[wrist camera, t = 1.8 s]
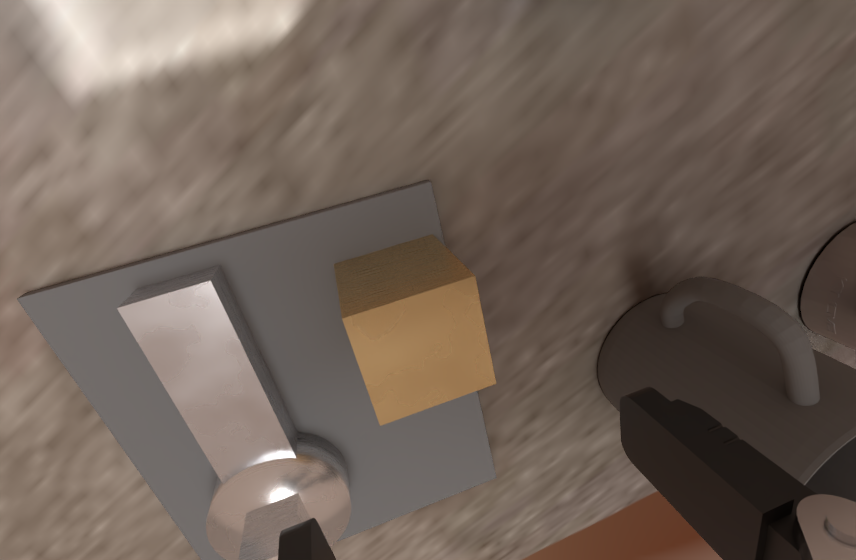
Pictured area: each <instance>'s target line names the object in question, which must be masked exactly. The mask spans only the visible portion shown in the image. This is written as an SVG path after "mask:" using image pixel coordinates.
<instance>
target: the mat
mask: <svg viewBox="0 0 856 560" xmlns="http://www.w3.org/2000/svg"><path fill="white" fill-rule="evenodd" d="M431 234H433V235H434V236H435V237H436V238H437V239H438V240H439V241H440V242H441V243H442V244H443V245H444V246H445V243H444V238H443V234H442V229H441V225H440V220H439V215H438V211H437V206H436V202H435V197H434V193H433V188H432V184H431V181H429V180H426V181H422V182H419V183H415V184H411V185H408V186H404V187H401V188H397V189H394V190H390V191H387V192H383V193H379V194H376V195H372V196H369V197H365V198H362V199H358V200H355V201H351V202H348V203H344V204H340V205H337V206H333V207H330V208H326V209H323V210H319V211H316V212H312V213H309V214H305V215H301V216H298V217H294V218H291V219H287V220H284V221H280V222H277V223H273V224H269V225H266V226H262V227H259V228H255V229H252V230H248V231H245V232H241V233H238V234H234V235H230V236H227V237H223V238H220V239H216V240H213V241H209V242H206V243H202V244H198V245H195V246H191V247H188V248H184V249H181V250H177V251H174V252H170V253H167V254H163V255H159V256H156V257H152V258H149V259H145V260H142V261H138V262H135V263H131V264H128V265H124V266H120V267H117V268H113V269H110V270H106V271H103V272H99V273H96V274H92V275H88V276H85V277H81V278H78V279H74V280H71V281H67V282H64V283H60V284H57V285H53V286H49V287H46V288H42V289H39V290H35V291H32V292H28V293H25V294H24V295H22V296H20V297H19V298H17V300H18V301H19V303H20V304H21V306H22V307H23V308H24V310H25V311H26V313H27V314H28V316H29V317H30V318H31V320H32V321H33V323H34V324H35V325H36V327H37V328H38V330H39V331H40V333H41V334H42V335H43V337H44V338H45V340H46V341H47V342H48V344H49V345H50V347H51V348H52V349H53V351H54V352H55V354H56V355H57V357H58V358H59V359H60V361H61V362H62V364H63V365H64V366H65V368H66V369H67V371H68V372H69V374H70V375H71V376H72V378H73V379H74V381H75V382H76V383H77V385H78V386H79V388H80V389H81V390H82V392H83V393H84V395H85V396H86V398H87V399H88V400H89V402H90V403H91V405H92V406H93V407H94V409H95V410H96V412H97V413H98V415H99V416H100V417H101V419H102V420H103V422H104V423H105V424H106V426H107V427H108V429H109V430H110V431H111V433H112V434H113V436H114V437H115V439H116V440H117V441H118V443H119V444H120V446H121V447H122V448H123V450H124V451H125V453H126V454H127V456H128V457H129V458H130V460H131V461H132V463H133V464H134V465H135V467H136V468H137V470H138V471H139V472H140V474H141V475H142V477H143V478H144V480H145V481H146V482H147V484H148V485H149V487H150V488H151V489H152V491H153V492H154V494H155V495H156V497H157V498H158V499H159V501H160V502H161V504H162V505H163V506H164V508H165V509H166V511H167V512H168V513H169V515H170V516H171V518H172V519H173V521H174V522H175V523H176V525H177V526H178V528H179V529H180V530H181V532H182V533H183V535H184V536H185V538H186V539H187V540H188V542H189V543H190V545H191V546H192V547H193V549H194V550H195V552H196V553H197V554H198V556H199V557H200V559H201V560H226V559H224V558H222V557H221V556H220V555H219V554H218V553H217V552H216V551H215V550H214V549H213V547H212V546H211V544H210V542H209V540H208V537H207V533H206V520H207V516H208V512H209V508H210V504H211V501H212V497H213V493H214V489H215V485H216V481H217V477H218V475H217V473H216V472H215V470H214V469H213V467H212V465H211V464H210V462H209V460H208V459H207V457H206V455H205V454H204V452H203V450H202V449H201V447H200V445H199V444H198V442H197V440H196V439H195V437H194V435H193V434H192V432H191V430H190V429H189V427H188V425H187V424H186V422H185V420H184V419H183V417H182V415H181V414H180V412H179V410H178V409H177V407H176V405H175V404H174V402H173V400H172V399H171V397H170V396H169V394H168V392H167V391H166V389H165V387H164V386H163V384H162V382H161V381H160V379H159V377H158V376H157V374H156V372H155V371H154V369H153V367H152V366H151V364H150V362H149V361H148V359H147V357H146V356H145V354H144V352H143V351H142V349H141V347H140V346H139V344H138V342H137V341H136V339H135V337H134V336H133V334H132V332H131V331H130V329H129V328H128V326H127V324H126V323H125V321H124V319H123V318H122V316H121V314H120V313H119V311H118V309H117V308H118V307H119V306H120V305H121V304H122V303H123V302H124V301H125V300H126V299H127V298H128V297H129V296H130V295H131V294H132V293H133V292H134V291H135V290H136V289H138V288H142V287H145V286H148V285H152V284H155V283H159V282H162V281H166V280H169V279H173V278H176V277H179V276H183V275H186V274H190V273H193V272H197V271H200V270H204V269H207V268H210V267H214V266H217V265H221V268H222V270H223V272H224V274H225V276H226V278H227V280H228V283H229V285H230V287H231V289H232V291H233V293H234V296H235V298H236V300H237V302H238V304H239V306H240V308H241V311H242V313H243V315H244V317H245V319H246V321H247V323H248V326H249V328H250V330H251V332H252V334H253V336H254V339H255V341H256V343H257V345H258V347H259V349H260V351H261V354H262V356H263V358H264V360H265V362H266V364H267V366H268V369H269V371H270V373H271V375H272V377H273V379H274V382H275V384H276V386H277V388H278V390H279V392H280V394H281V397H282V399H283V401H284V403H285V405H286V407H287V410H288V412H289V414H290V416H291V418H292V420H293V422H294V425H295V427H296V429H297V431H300V432H307V433H311V434H314V435H317V436H320V437H322V438H324V439H326V440H328V441H329V442H331V443H332V444H333V445H334V446H335V447H336V448H338V450H339V451H340V452H341V454H342V455H343V457H344V459H345V462H346V465H347V473H348V482H349V492H350V502H351V515H350V519H349V522H348V525H347V527H346V529H345V531H344V532H343V534H342V535H341V536H340V538H339V539H338V540H337V541H340V540H342V539H345V538H347V537H350V536H352V535H355V534H357V533H360V532H362V531H365V530H367V529H370V528H372V527H375V526H377V525H380V524H382V523H385V522H387V521H390V520H392V519H395V518H397V517H400V516H402V515H405V514H407V513H410V512H412V511H415V510H417V509H420V508H422V507H425V506H427V505H430V504H432V503H435V502H437V501H440V500H442V499H445V498H447V497H450V496H452V495H455V494H457V493H460V492H462V491H465V490H467V489H470V488H472V487H475V486H477V485H480V484H482V483H485V482H487V481H490V480H492V479H495V478H496V473H495V469H494V464H493V460H492V455H491V451H490V446H489V442H488V437H487V433H486V428H485V424H484V419H483V415H482V410H481V406H480V401H479V396H478V392H477V391H475V392H472V393H469V394H467V395H464V396H461V397H458V398H456V399H453V400H450V401H447V402H445V403H442V404H439V405H436V406H434V407H431V408H428V409H425V410H423V411H420V412H417V413H414V414H412V415H409V416H406V417H403V418H401V419H398V420H395V421H392V422H390V423H387V424H384V425H382V426H380V424H379V421H378V419H377V416H376V413H375V410H374V407H373V405H372V402H371V399H370V396H369V393H368V391H367V388H366V385H365V382H364V379H363V377H362V374H361V371H360V368H359V365H358V362H357V360H356V357H355V354H354V351H353V348H352V346H351V343H350V340H349V337H348V334H347V332H346V329H345V326H344V323H343V320H342V316H341V309H340V303H339V296H338V290H337V283H336V277H335V270H334V264H335V263H338V262H342V261H345V260H348V259H352V258H355V257H358V256H362V255H365V254H368V253H372V252H375V251H378V250H382V249H385V248H388V247H391V246H395V245H398V244H401V243H405V242H408V241H411V240H415V239H418V238H421V237H425V236H428V235H431ZM337 541H336V542H337Z"/></svg>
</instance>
